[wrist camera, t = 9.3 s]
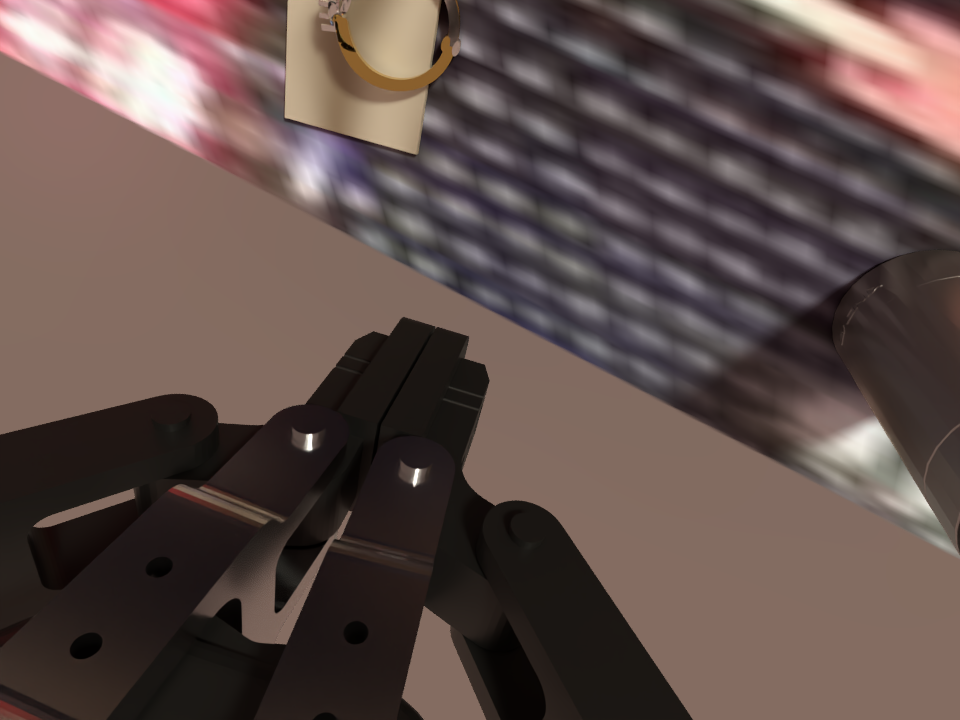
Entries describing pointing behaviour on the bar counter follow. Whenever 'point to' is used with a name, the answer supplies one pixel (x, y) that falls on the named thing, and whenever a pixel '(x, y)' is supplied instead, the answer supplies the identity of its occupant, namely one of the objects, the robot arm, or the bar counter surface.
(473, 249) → the bar counter surface
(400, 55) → the birch board
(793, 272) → the bar counter surface
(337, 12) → the ring
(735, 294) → the bar counter surface
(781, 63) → the bar counter surface
